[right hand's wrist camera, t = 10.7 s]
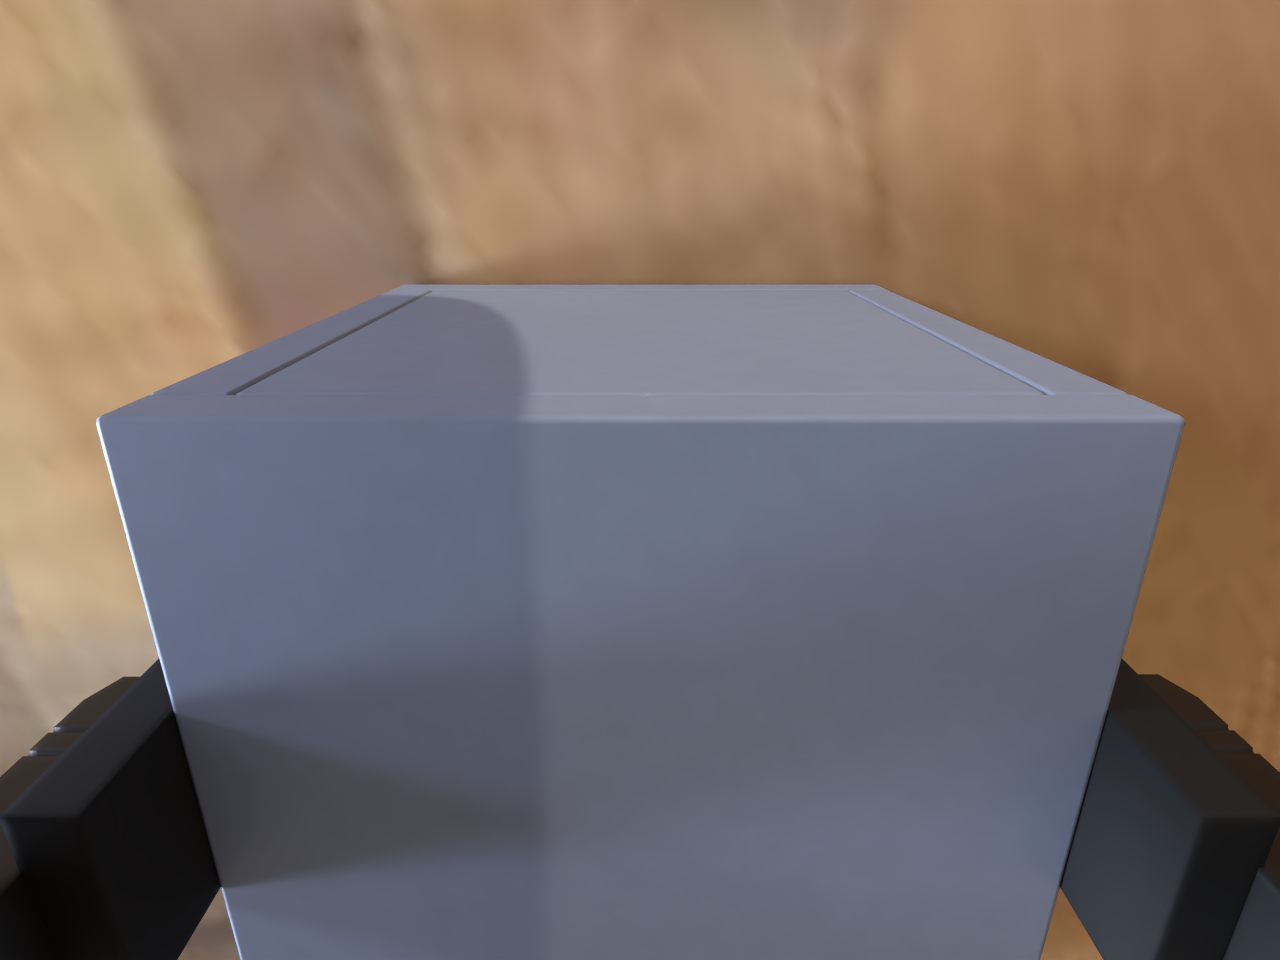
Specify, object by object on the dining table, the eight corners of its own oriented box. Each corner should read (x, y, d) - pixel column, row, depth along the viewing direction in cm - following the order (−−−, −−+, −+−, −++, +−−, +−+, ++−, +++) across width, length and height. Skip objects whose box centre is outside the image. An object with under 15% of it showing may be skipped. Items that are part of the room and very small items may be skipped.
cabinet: (808, 912, 24) (922, 1403, 14) (471, 912, 24) (358, 1405, 14) (877, 284, 17) (1190, 416, 7) (402, 284, 17) (90, 417, 7)
